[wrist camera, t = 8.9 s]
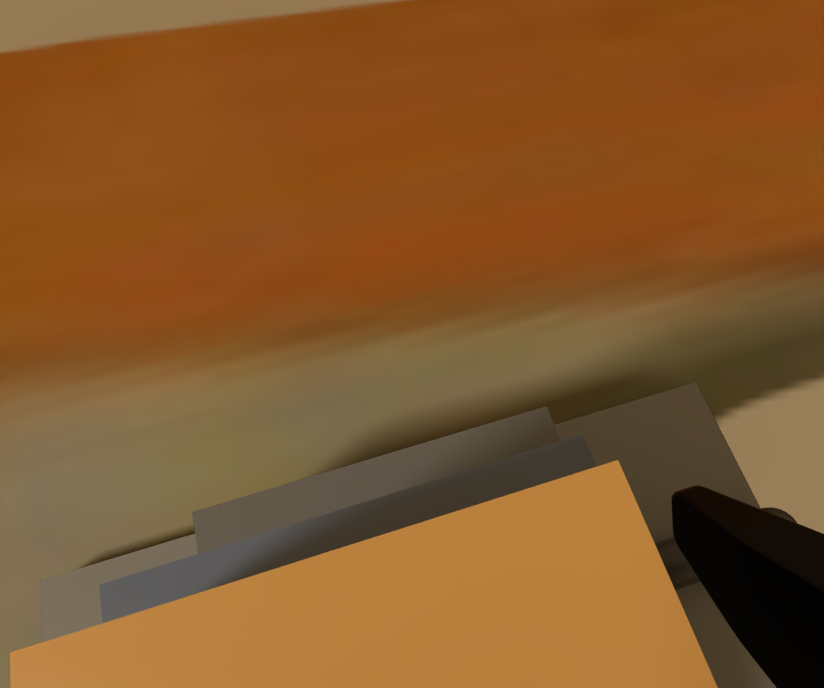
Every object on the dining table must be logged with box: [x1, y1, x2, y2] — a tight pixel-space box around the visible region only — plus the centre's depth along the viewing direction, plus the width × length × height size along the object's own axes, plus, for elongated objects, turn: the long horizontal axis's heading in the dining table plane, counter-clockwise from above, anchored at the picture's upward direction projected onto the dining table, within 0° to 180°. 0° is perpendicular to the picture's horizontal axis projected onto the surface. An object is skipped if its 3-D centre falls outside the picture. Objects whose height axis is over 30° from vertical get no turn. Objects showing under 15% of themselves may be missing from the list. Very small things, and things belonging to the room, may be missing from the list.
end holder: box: [40, 382, 797, 688], centre depth 14 cm, size 9×20×4 cm, turn 106°
